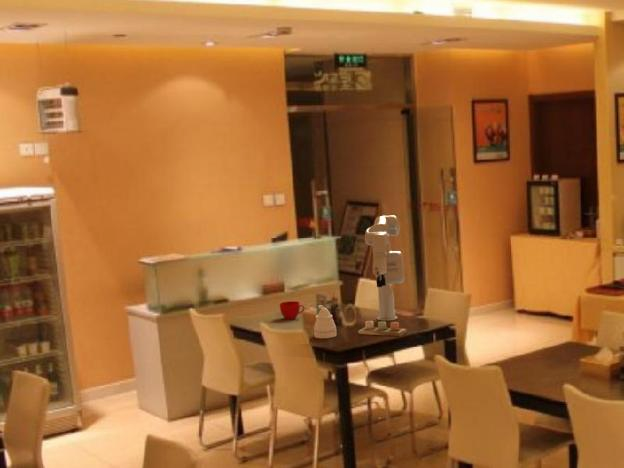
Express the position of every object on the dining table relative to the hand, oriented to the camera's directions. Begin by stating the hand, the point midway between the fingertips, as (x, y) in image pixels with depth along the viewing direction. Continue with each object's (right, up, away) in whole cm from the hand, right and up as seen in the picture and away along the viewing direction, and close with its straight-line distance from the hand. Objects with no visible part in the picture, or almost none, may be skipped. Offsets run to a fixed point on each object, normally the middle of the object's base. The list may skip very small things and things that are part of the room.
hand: (381, 285), depth 501 cm
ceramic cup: (-52, -25, +62) cm, 85 cm away
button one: (-6, -25, +5) cm, 26 cm away
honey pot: (-32, -29, +4) cm, 44 cm away
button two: (+1, -25, +1) cm, 25 cm away
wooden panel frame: (+1, -27, +1) cm, 27 cm away
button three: (+8, -25, -3) cm, 26 cm away
